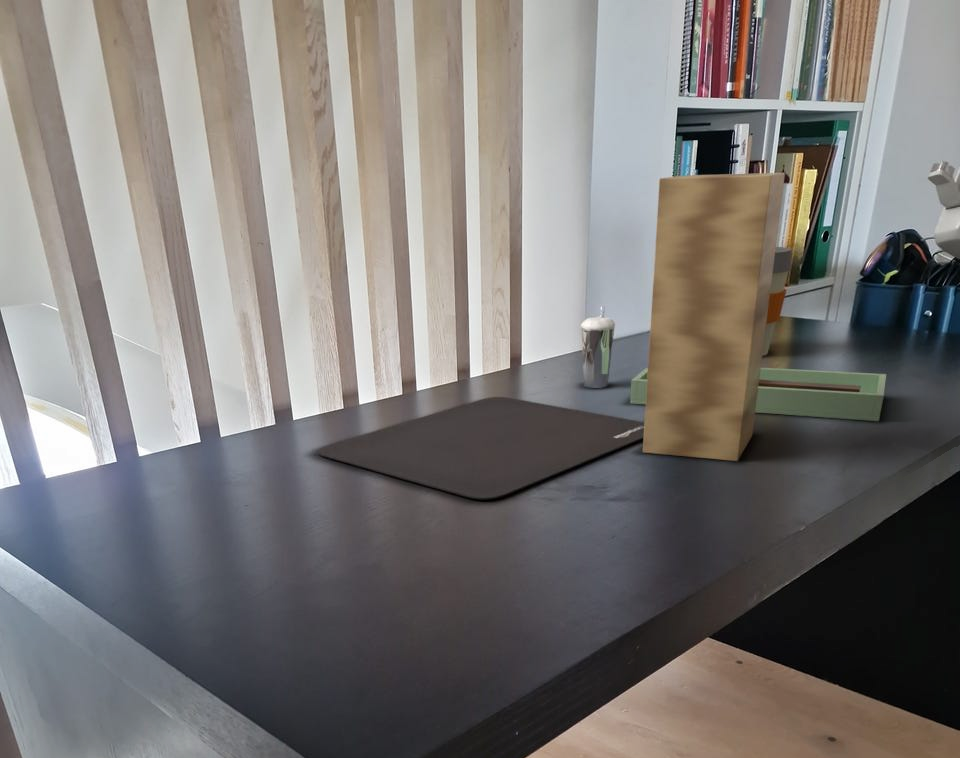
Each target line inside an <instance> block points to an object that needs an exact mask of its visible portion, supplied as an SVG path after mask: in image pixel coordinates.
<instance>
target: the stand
mask: <svg viewBox="0 0 960 758" xmlns="http://www.w3.org/2000/svg"><path fill="white" fill-rule="evenodd" d="M785 176H786V173H785V172H759V173H757V172H756V173H755V172H754V173H725V174H724V173H721V174H692V175H691V174H689V175H688V174H687V175H677V176H676V175H675V176H669V177H667V176H666V177H660V178H659V182H658V198H657V199H658V200H657V213H656V214H657V216H656V228H655V229H656V231H655V249H654V261H653V262H654V263H653V278H652V279H653V280H652V295H651V299H652V300H651V311H650V313H651V314H650V327H649V328H650V329H649V345H648V358H647V360H648V361H647V367H648V374H647V390H646V405H645V407H644V408H645V410H644V438H643V439H642V441H643V443H642V453H645V454H653V455H665V456H676V457H686V458H687V457H688V458H697V459H698V458H699V459H708V460H720V461H728V462H729V461H731V462H738V461H739V459H740V458H741V456H742V455H743V452H744V450H745V449H746V447H747V445H748V444H749V443H750V440H751V438H752V436H753V432H754V425H755V418H756V417H755V416H756V413H755V409H756V401H757V393H758V385H759V377H760V369H761V368H762V360H763V356H762V353H763V345H764V337H765V329H766V321H767V313H768V305H769V297H770V289H771V281H772V273H773V265H774V257H775V248H776V247H777V240H778V232H779V224H780V216H781V207H782V200H783V191H784V185H785V184H784V182H785Z"/></svg>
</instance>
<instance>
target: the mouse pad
mask: <svg viewBox="0 0 960 758" xmlns="http://www.w3.org/2000/svg"><path fill="white" fill-rule="evenodd" d="M644 423H645V421H638V420H633V419H627V418H622V417H617V416H611V415H606V414H601V413H600V414H599V413H593V412H589V411H584V410H578V409H572V408H566V407H561V406H556V405H550V404H546V403H545V404H544V403H539V402H533V401H528V400H522V399H517V398H510V397H506V396H505V397H504V396H494V397H493V396H492V397H487V398H483V399H479V400H476V401H472V402H469V403H465V404H462V405H458V406H456V407H452V408H449V409H444V410H442V411H439V412H435V413H432V414H428V415H425V416H422V417H419V418H414V419H412V420H408V421H404V422H402V423H398V424H394V425H392V426H387V427H384V428H380V429H377V430H374V431H371V432H368V433H364V434H361V435H358V436H354V437H351V438H347V439H343V440H341V441H337V442H335V443H334V442H333V443H330V444H327V445H324V446H322V447H319V448H318V449H317V450H316V454H317V455H319V456H321V457H324V458H328V459H331V460H334V461H337V462H341V463H346V464H349V465H351V466H355V467H359V468H363V469H367V470H369V471H373V472H377V473H380V474H383V475H387V476H390V477H394V478H398V479H401V480H405V481H408V482H412V483H415V484H419V485H422V486H426V487H430V488H433V489H437V490H439V491H444V492H446V493H447V492H448V493H450V494H454V495H457V496H460V497H463V498H464V497H465V498H468V499H474V500H479V501H480V500H481V501H483V500H484V501H486V500H495V499H499V498H502V497H506V496H508V495H511V494H512V493H516V492H517V491H520V490H523V489H525V488H526V487H529V486H532V485H535V484H537V483H540V482H542V481H545V480H546V479H550V478H552V477H554V476H556V475H558V474H561V473H563V472H566V471H569V470H571V469H573V468H576V467H579V466H580V465H583V464H586V463H588V462H590V461H593V460H595V459H598V458H600V457H602V456H606V455H607V454H610V453H613V452H614V451H617V450H619V449H622V448H624V447H627V446H628V445H631V444H633V443H637V442H638V441H641V440H643V439H644Z"/></svg>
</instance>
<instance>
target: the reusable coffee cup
mask: <svg viewBox="0 0 960 758" xmlns="http://www.w3.org/2000/svg"><path fill="white" fill-rule="evenodd" d="M792 250H793V249H792V248H790V247H783V246H776V248H775V257H774V265H773V273H772V281H771V289H770V297H769V305H768V313H767V321H766V329H765V337H764V345H763V353H762V357H764V356H767V355H768V354H769V351H770V345H771V341H772V337H773V334H774V330H775V326H776V323H777V322H778V321H779V320H780V317H781V313H782V309H783V305H784V302H785V298H786V294H787V289H786V288H785V286H786V282H787V280H788V279H787V278H788V275H789V272H790V271H791V270H792V253H793V252H792Z"/></svg>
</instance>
